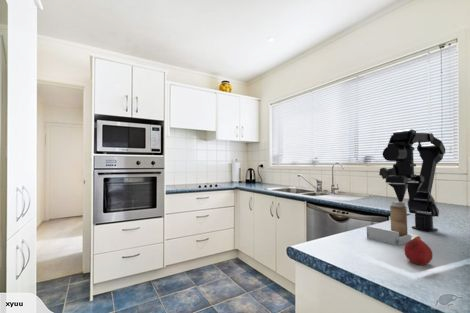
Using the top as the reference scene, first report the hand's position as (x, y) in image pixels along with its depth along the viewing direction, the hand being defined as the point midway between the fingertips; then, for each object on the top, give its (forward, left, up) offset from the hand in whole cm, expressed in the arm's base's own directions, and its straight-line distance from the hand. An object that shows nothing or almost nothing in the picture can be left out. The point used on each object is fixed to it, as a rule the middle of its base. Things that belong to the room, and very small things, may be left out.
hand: (406, 200), depth 89 cm
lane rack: (+12, +2, -13) cm, 18 cm away
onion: (+28, +20, -13) cm, 37 cm away
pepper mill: (+7, +2, -12) cm, 14 cm away
